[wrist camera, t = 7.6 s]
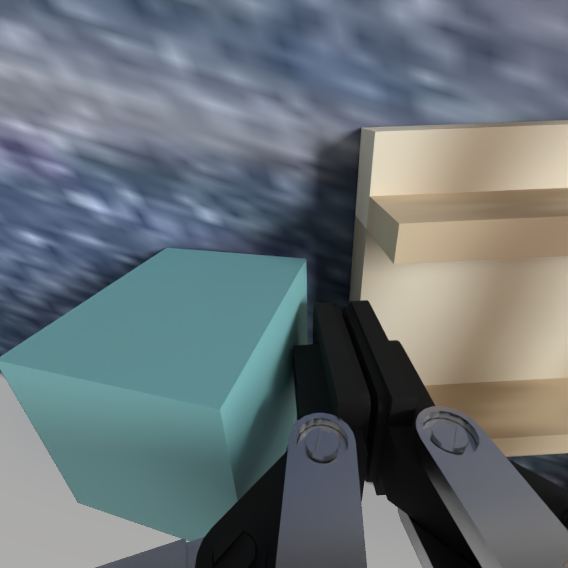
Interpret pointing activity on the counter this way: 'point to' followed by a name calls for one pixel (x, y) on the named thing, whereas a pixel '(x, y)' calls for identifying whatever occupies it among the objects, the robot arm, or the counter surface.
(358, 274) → the channel
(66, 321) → the block
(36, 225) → the counter surface
